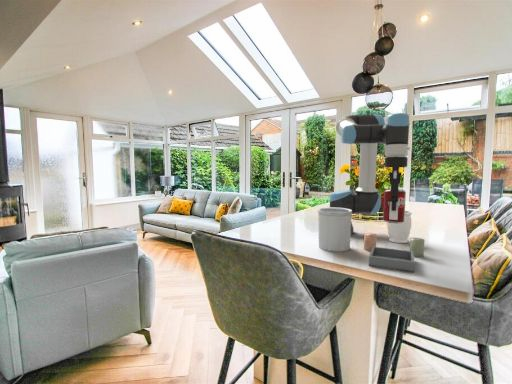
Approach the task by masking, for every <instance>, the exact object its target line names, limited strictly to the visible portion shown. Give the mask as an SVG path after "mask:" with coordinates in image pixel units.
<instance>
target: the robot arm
mask: <svg viewBox="0 0 512 384" xmlns="http://www.w3.org/2000/svg"><path fill="white" fill-rule="evenodd" d="M335 129H336V133H337V134H338V135H339V136H341V137H340V139H341V143H342V144H347V145H352V144H360V145H359V169H358V170H359V171H358V187H356V189H355V193H354V192H352V190H339V191H333V192H331V193H330V195H329V207H337V208H347V209H351V210H352V214H353V215H357V214H358V215H368V216H369V215H376V214H378V212H379V211H380V208H381V206H382V205H381V204H382V195H381V193H379V190H378V189H377V188H376V179H377V178H376V175H377V160H378V159H377V158H378V156H377V155H378V144H383V145H384V156H385V158H384V168H391V171H390V172H389V184H390V190H391V195H390V199H388V202H390V212H389V219H392V220H397V219H398V190H399V185H400V184H401V178H402V172H400V168H407V167H408V160H409V159H408V157H407V156H408V154H409V153H408V152H409V150H410V149H411V147H409V137H410V135H409V134H410V115H409V114H408V113H406V112H405V113H404V112H403V113H401V112H400V113H399V112H398V113H391V114H389V115H388V114H387V117H386V121H385V118H384V116H383V115H382V114H375V113H373V114H372V113H371V114H370V113H369V114H351V115H350V114H349V115H347V116H344V117H342V118H341V119H339V120H338V122H336V127H335ZM352 214H351V215H352ZM354 231H355V230H354V226H353V222H352V221H351V234H350V235H352V234H353V233H354Z"/></svg>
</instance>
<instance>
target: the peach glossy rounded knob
mask: <svg viewBox="0 0 512 384" xmlns="http://www.w3.org/2000/svg"><path fill="white" fill-rule="evenodd" d="M363 235H364V237H363V239H364V240H363V250H364V251H366V252H371V250H372V247H377V239H378V238H377V236H378V235H377V233H373V232H365V233H364V234H363Z"/></svg>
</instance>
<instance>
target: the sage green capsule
mask: <svg viewBox="0 0 512 384" xmlns="http://www.w3.org/2000/svg"><path fill="white" fill-rule="evenodd" d="M425 242H426V241H425V238H422V237H410V246H409V251H413V255H414V258H420V259H421V257H422V258H424V257H425Z"/></svg>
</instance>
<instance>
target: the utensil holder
mask: <svg viewBox="0 0 512 384" xmlns="http://www.w3.org/2000/svg"><path fill="white" fill-rule="evenodd" d="M317 213H318V214H317V215H318V216H317V218H318V222H317V223H318V247H319V248H320V249H322V250H324V251H328V252H339V253H340V252H346V251H349V250H350V248H351V235H352V234H351V222H352V210H351V209H347V208H337V207H330V206H329V207H319V208H318V209H317Z"/></svg>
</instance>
